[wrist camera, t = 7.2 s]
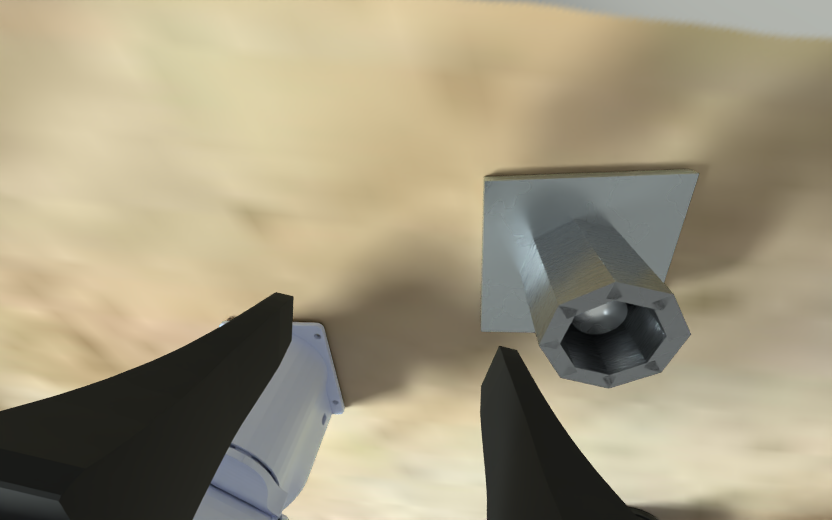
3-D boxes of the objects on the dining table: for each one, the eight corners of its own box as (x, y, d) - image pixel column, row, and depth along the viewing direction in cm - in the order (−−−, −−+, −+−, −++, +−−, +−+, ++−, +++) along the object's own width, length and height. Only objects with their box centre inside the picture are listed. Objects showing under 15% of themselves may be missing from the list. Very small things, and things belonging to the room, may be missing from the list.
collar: (644, 234, 18) (714, 303, 13) (599, 313, 21) (642, 396, 16) (543, 212, 19) (574, 272, 13) (511, 294, 21) (526, 370, 16)
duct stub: (641, 326, 22) (686, 394, 18) (480, 323, 24) (484, 385, 19) (690, 168, 17) (768, 207, 13) (483, 176, 19) (489, 213, 14)
